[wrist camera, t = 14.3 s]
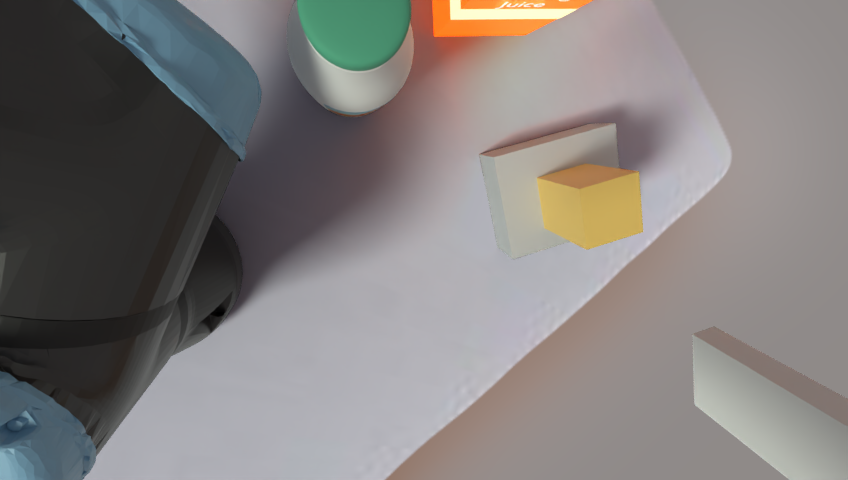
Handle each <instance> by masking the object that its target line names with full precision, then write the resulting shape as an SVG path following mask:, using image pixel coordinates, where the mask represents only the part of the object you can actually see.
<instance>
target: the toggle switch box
mask: <svg viewBox="0 0 848 480" xmlns="http://www.w3.org/2000/svg"><path fill="white" fill-rule="evenodd" d="M479 156H480V161H481V166H482V171H483V176H484V181H485V186H486V191H487V196H488V201H489V206H490V211H491V216H492V221H493V226H494V231H495V237H496V242H497V247H498V248H499V249H500V250H502V251H503V252H504V253H505V254H507V255H508V256H509V257H510V258H512V259H516V258H519V257H522V256H525V255H529V254H532V253H535V252H538V251H541V250H545V249H548V248H551V247H554V246H557V245H560V244H564V243H567V242H570V241H569V240H567V239H565V238H563V237H561V236H559V235H557V234H555V233H553V232H551V231H549V230H547V229H545V228H544V222H543V216H542V209H541V203H540V197H539V190H538V184H537V177H541V176H544V175H548V174H551V173H555V172H558V171H562V170H565V169H568V168H572V167H575V166H579V165H582V164H593V165H600V166H606V167H613V168H619V158H618V147H617V135H616V123H599V124H587V125H583V126H580V127H576V128H572V129H569V130H565V131H562V132H558V133H555V134H551V135H547V136H544V137H540V138H537V139H533V140H529V141H526V142H522V143H519V144H515V145H511V146H508V147H504V148H501V149H497V150H494V151H490V152H486V153H483V154H479Z"/></svg>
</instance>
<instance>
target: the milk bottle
mask: <svg viewBox="0 0 848 480" xmlns="http://www.w3.org/2000/svg"><path fill="white" fill-rule="evenodd" d="M410 20H411V1H410V0H295V2H294V4H293V6H292V9H291V11H290V14H289V18H288V23H287V48H288V54H289V58H290V61H291V64H292V67H293V69H294V71H295V73H296V75H297V77H298V78H299V80H300V82H301V83H302V85H303V86H304V88H305V89H306V90H307V91H308V92H309V94H310V95H311V96H312V97H313V98H314V99H315V100H316V101H317V102H318V103H319V104H321V105H322V106H323V107H324V108H326V109H327V110H329V111H331V112H333V113H335V114H337V115H340V116H345V117H360V116H364V115H368V114H370V113H372V112H374V111H376V110H378V109H379V108H381V107H382V106H384V105H385V104H387V103H388V102H389V101H390V100H392V99H393V98H394V97H395V95H396V94H397V93H398V92H399V91H400V89H401V88H402V87H403V85H404V84H405V82H406V80H407V78H408V75H409V73H410V70H411V66H412V61H413V55H414V37H413V31H412V27H411V23H410Z"/></svg>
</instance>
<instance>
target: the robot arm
mask: <svg viewBox="0 0 848 480" xmlns="http://www.w3.org/2000/svg"><path fill="white" fill-rule="evenodd" d="M260 103H261V88H260V84H259V81H258V77H257V75H256V73H255V72H254V70H253V69H252V67H251V65H250V64H249V62H248V61H247V60H246V59H245V58H244V57H243V56H242V55H241V54H240V53H239V51H238V50H236V49H235V48H234V47H233V46H232V45H231V44H230V43H229V42H228V41H227V40H225V39H224V38H223V37H222V36H221V35H219V34H218V33H217V32H216V31H215V30H214V29H212V28H211V27H210V26H209V25H207V24H206V23H205V22H204V21H203V20H201V19H200V18H199V17H198V16H196V15H195V14H194V13H192V12H191V11H190V10H189V9H187V8H186V7H185V6H183V5H182V4H181V3H180V2H178V1H177V0H0V480H83V479H84V477H85V476H86V475H87V474H88V473H89V472H90V470H91V469H92V467H93V465H94V463H95V461H96V456H97V455H98V453H99V452H100V451H101V449H102V448H103V447H104V445H105V444H106V443H107V441H108V440H109V439H110V437H111V436H112V435H113V433H114V432H115V431H116V429H117V428H118V427H119V425H120V424H121V423H122V421H123V420H124V419H125V417H126V416H127V415H128V413H129V412H130V411H131V409H132V408H133V407H134V405H135V404H136V403H137V401H138V400H139V399H140V397H141V396H142V395H143V393H144V392H145V391H146V389H147V388H148V387H149V385H150V384H151V383H152V381H153V380H154V379H155V377H156V376H157V375H158V373H159V372H160V371H161V369H162V368H163V367H164V365H165V364H166V363H167V361H168V360H169V359H170V357H171V356H173V355H175V354H177V353H179V352H181V351H183V350H185V349H186V348H188V347H190V346H192V345H194V344H196V343H198V342H200V341H201V340H203V339H204V338H206V337H207V336H208V335H210V334H211V333H212V332H213V331H214V330H215V329H216V328H217V327H218V326H219V325H220V324H221V323H222V322H223V320H224V319H225V318H226V316H227V315H228V313H229V312H230V310H231V308H232V307H233V305H234V303H235V302H236V300H237V297H238V295H239V292H240V288H241V283H242V262H241V257H240V253H239V250H238V247H237V245H236V243H235V240H234V238H233V237H232V235H231V233H230V232H229V230H228V229H227V228H226V226H225V225H224V224H223V223H222V221H221V220H220V219H219V218H218V217H217V216H216V215H215V213H216V211H217V209H218V206H219V204H220V202H221V199H222V197H223V195H224V192H225V190H226V188H227V185H228V183H229V181H230V178H231V176H232V174H233V171H234V169H235V167H236V164H237V162H238V161H240V162H242V161H244V159H245V156H246V150H245V148H244V147H245V144H246V141H247V139H248V136H249V133H250V131H251V128H252V125H253V123H254V120H255V117H256V115H257V112H258V109H259V107H260ZM692 340H693V341H692V342H693V374H694V404H695V405H696V406H697V407H698V408H700V409H701V410H702V411H703V412H705V413H706V414H707V415H708V416H710V417H711V418H712V419H713V420H715V421H716V422H717V423H718V424H720V425H721V426H722V427H724V428H725V429H726V430H727V431H729V432H730V433H731V434H732V435H734V436H735V437H736V438H738V439H739V440H740V441H741V442H742V443H744V444H745V445H746V446H747V447H749V448H750V449H751V450H753V451H754V452H755V453H756V454H758V455H759V456H760V457H761V458H763V459H764V460H765V461H766V462H768V463H769V464H770V465H771V466H773V467H774V468H775V469H777V470H778V471H779V472H780V473H782V474H783V475H784V476H785V477H787V478H788V479H789V480H848V399H847V398H845V397H843V396H842V395H840V394H838V393H836V392H834V391H832V390H830V389H829V388H827V387H825V386H823V385H821V384H819V383H817V382H816V381H814V380H812V379H810V378H808V377H806V376H805V375H803V374H801V373H799V372H797V371H795V370H793V369H792V368H790V367H788V366H786V365H784V364H782V363H780V362H778V361H777V360H775V359H773V358H771V357H769V356H768V355H766V354H764V353H762V352H760V351H758V350H756V349H755V348H753V347H751V346H749V345H747V344H745V343H743V342H742V341H740V340H738V339H736V338H734V337H732V336H731V335H729V334H727V333H725V332H723V331H721V330H719V329H718V328H716V327H711V328H708V329H706V330H703V331H700V332H697V333H694V334H692Z"/></svg>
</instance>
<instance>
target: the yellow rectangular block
mask: <svg viewBox="0 0 848 480" xmlns="http://www.w3.org/2000/svg"><path fill="white" fill-rule="evenodd" d="M537 184H538V190H539V197H540V203H541V209H542V216H543V222H544V228H545V229H547V230H549V231H551V232H553V233H555V234H557V235H559V236H561V237H563V238H565V239H567V240H569V241H571V242H572V243H574V244H576V245H578V246H580V247H582V248H584V249H586V250H588V249H591V248H594V247H597V246H600V245H603V244H607V243H610V242H613V241H616V240H619V239H622V238H625V237H629V236H632V235H635V234H638V233H641V232H643V223H642V209H641V194H640V180H639V171H633V170H626V169H620V168H613V167H606V166H600V165H593V164H582V165H579V166H575V167H572V168H568V169H565V170H562V171H558V172H555V173H551V174H548V175H544V176H541V177H537Z"/></svg>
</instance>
